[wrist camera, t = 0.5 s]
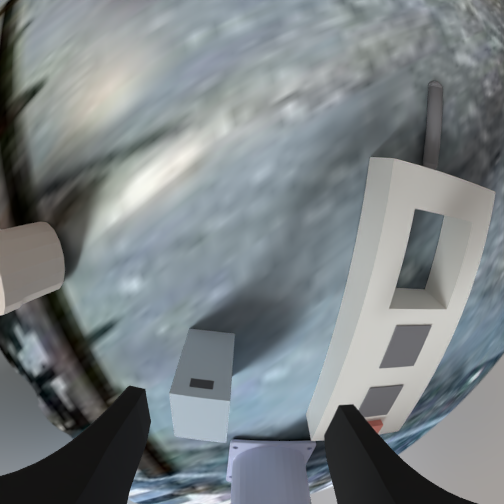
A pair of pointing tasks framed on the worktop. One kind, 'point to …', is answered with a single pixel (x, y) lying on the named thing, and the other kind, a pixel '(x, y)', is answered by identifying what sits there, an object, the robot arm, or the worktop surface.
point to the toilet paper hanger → (29, 264)
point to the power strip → (401, 299)
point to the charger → (203, 386)
